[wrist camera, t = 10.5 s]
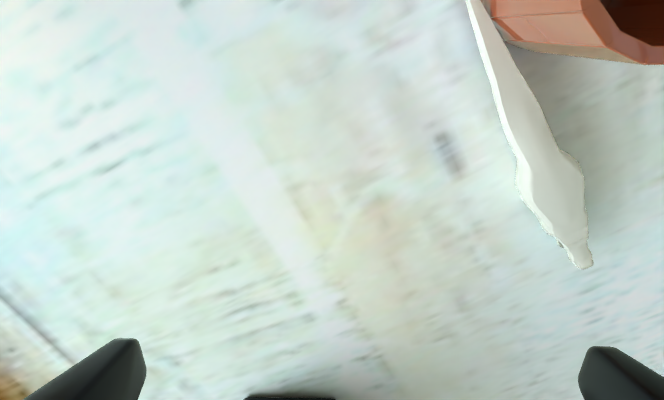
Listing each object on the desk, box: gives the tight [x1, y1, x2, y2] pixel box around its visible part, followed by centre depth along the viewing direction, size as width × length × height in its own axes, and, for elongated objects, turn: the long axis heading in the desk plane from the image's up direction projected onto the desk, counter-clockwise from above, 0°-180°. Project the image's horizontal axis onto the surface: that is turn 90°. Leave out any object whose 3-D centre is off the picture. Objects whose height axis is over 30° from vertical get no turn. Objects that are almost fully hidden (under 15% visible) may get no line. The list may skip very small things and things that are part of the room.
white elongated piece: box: [465, 0, 593, 270], centre depth 16 cm, size 15×3×2 cm, turn 32°
